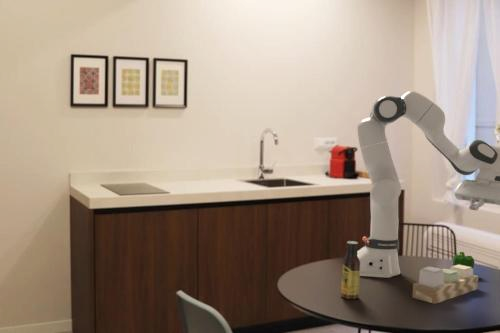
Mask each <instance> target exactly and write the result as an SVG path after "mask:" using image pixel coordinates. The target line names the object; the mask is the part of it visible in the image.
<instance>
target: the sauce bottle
mask: <svg viewBox="0 0 500 333" xmlns="http://www.w3.org/2000/svg"><path fill="white" fill-rule="evenodd" d="M345 246H346V252H345V256H344V258H343V261H342V267H341V282H340V283H341V284H340V286H341V287H340V292H341V297H342V298H344V299H347V300H349V299H350V300H354V299H355V300H356V299H358V297H359V293H360V279H361V276H360V260H359V258H358V256H357V254H358V253H357V251H358V248H359V242H358V241H354V240H352V241H351V240H348V241H347V242H346V245H345Z"/></svg>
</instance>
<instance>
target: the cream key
mask: <svg viewBox="0 0 500 333" xmlns="http://www.w3.org/2000/svg"><path fill="white" fill-rule="evenodd" d="M449 270H453V271H457V273H459V278H463V279H466V278H469V277H472V276H473V275H474V268H473V269H472V267H468V266H464V265H455V266H453V265H452V266H451V267H449Z"/></svg>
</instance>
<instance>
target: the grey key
mask: <svg viewBox="0 0 500 333" xmlns="http://www.w3.org/2000/svg"><path fill="white" fill-rule="evenodd" d="M443 269H444V268H438V267H433V266H426V267H423V268H422V267H421V269H420V270H419V279H418V280H419V281H418V282H419V284H420V285H424V286H427V287H431V288H437V287H440V286H443V284H444V271H443Z"/></svg>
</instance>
